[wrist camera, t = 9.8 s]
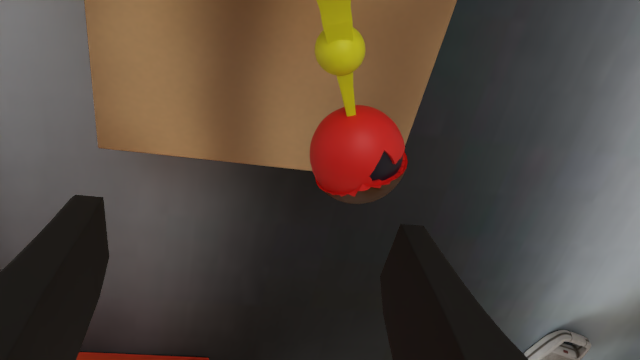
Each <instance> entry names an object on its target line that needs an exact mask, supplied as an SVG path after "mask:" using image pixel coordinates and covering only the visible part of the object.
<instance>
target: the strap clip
mask: <svg viewBox="0 0 640 360" xmlns="http://www.w3.org/2000/svg"><path fill="white" fill-rule="evenodd" d="M565 341H568V342H571V343H574V344H573V345H568V344H565V343H563V342H565ZM590 348H591V344H590V342H589V340H588V339H587V338H586V337H584V336H582V335H579V334H576V333H573V332H570V331H566V330H559V331H556V332H554V333H551V334H549V335H546V336H545V337H544V338H542V339H541V340H540V341H538V342H537V343H536V344H535V345H533V346H532V347H531V348H530V349H528V350H527V351H526V352H525V353H524V354H525V356H526V357H527V358H528V360H580V359H581V358H583V356H584V355H585V354H586V353H587V352H588V351H589V350H590Z"/></svg>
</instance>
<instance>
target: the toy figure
mask: <svg viewBox="0 0 640 360" xmlns="http://www.w3.org/2000/svg"><path fill="white" fill-rule="evenodd" d="M316 1H317V3H318V6H319V9H320V14H321V20H322V26H323V29H324V30H323V31H322V32H321V33H320V35H319V36H318V38H317V40H316V43H315V56H316V59H317V62H318V64H319V65H320V66H321V67H322V68H323V69H324V70H325V71H326V72H328V73H330V74H333V75H336V76H337V80H338V83H339V87H340V91H341V95H342V99H343V103H344V107H342V108H340V109H338V110H335V111H334V112H332V113H330V114H329V115H328V116H326V117H325V118H324V119H323V120H322V121H321V123H320V124H319V125H318V127H317V129H316V131H315V133H314V135H313V137H312V140H311V144H310V163H311V167H312V171H313V173H314V176H315V180H316V183H317V185H318V187H319V188H320V189H321V190H322V191H323V192H325V193H326V194H328V195H329V196H330V197H332V198H334V199H336V200H338V201H341V202H344V203H350V204H363V203H369V202H372V201H375V200H378V199H380V198H382V197H384V196H385V195H387V194H388V193H390V192H391V191H392V190H393V189H394V188H395V187H396V186H397V184H398V183H399V181H400V180H401V178H402V177H403V175H404V173H405V170H406V167H407V163H408V161H407V156H406V154H405V152H404V149H405V145H404V140H403V137H402V135H401V133H400V131H399V129H398V127H397V125H396V124H395V123H394V122H393V120H392V119H390V118H389V117H388V116H387V115H386V114H384V113H383V112H381V111H380V110H378V109H376V108H373V107H369V106H364V105H355V99H354V88H353V71H355V70H356V69H357V68H358V67H359V66H360V65H361V63H362V61H363V59H364V56H365V42H364V40H363V38H362V36H361V34H360V33H359V32H358V31H357V30H356V29H355V28H353V21H352V13H351V0H316Z"/></svg>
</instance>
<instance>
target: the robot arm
mask: <svg viewBox="0 0 640 360" xmlns="http://www.w3.org/2000/svg"><path fill="white" fill-rule="evenodd" d="M108 259H109V250H108V240H107V231H106V221H105V211H104V201H103V197H94V196H83V195H75V196H73V197H72V198H70V200H69V201H68V202H67V203H66V204H65V205H64V207H63V208H62V209H61V210H60V211H59V212H58V213H57V214H56V216H55V217H54V218H53V219H52V220H51V221H50V222H49V223H48V224H47V225H46V227H45V228H44V229H43V230H42V231H41V232H40V233H39V234H38V235H37V236H36V237H35V238H34V239H33V240H32V241H31V242H30V243H29V244H28V245H27V246H26V247H25V248H24V249H23V250H22V251H21V252H20V253H19V254H18V255H17V256H16V257H15V258H14V259H13V260H12V261H11V262H10V263H9V264H8V265H7V266H6V267H5V268H4V269H3V270H2V271H1V272H0V360H76V359H77V356H78V353H79V351H80V348H81V345H82V343H83V340H84V337H85V335H86V332H87V329H88V327H89V324H90V321H91V319H92V316H93V313H94V310H95V308H96V305H97V302H98V299H99V297H100V293H101V289H102V285H103V281H104V277H105V272H106V268H107V264H108ZM380 281H381V295H382V306H383V315H384V320H385V325H386V330H387V335H388V339H389V344H390V349H391V353H392V358H393V360H528V358H527V357H526V356H525V355H524V354H523V353H522V352H521V351H520V350H519V349H518V348H517V347H516V346H515V345H514V344H513V343H512V342H511V341H510V340H509V339H508V337H507V336H506V335H505V334H504V333H503V332H502V331H501V330H500V328H499V327H498V326H497V325H496V324H495V322H494V321H493V320H492V319H491V318H490V316H489V315H488V314H487V313H486V312H485V310H484V309H483V308H482V307H481V306H480V304H479V303H478V302H477V300H476V299H475V298H474V296H473V295H472V294H471V292H470V291H469V290H468V288H467V287H466V286H465V284H464V283H463V282H462V280H461V279H460V278H459V276H458V275H457V274H456V272H455V271H454V269H453V268H452V266H451V265H450V264H449V262H448V261H447V259H446V258H445V256H444V255H443V254H442V252H441V251H440V249H439V248H438V246H437V245H436V243H435V242H434V241H433V239H432V238H431V236H430V235H429V233H428V232H427V230H426V229H425V228H424V226H416V225H405V224H400V227H399V229H398V232H397V235H396V237H395V240H394V242H393V245H392V247H391V250H390V252H389V255H388V258H387V260H386V263H385V265H384V268H383V270H382V273H381V276H380Z"/></svg>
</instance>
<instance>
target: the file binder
mask: <svg viewBox="0 0 640 360" xmlns="http://www.w3.org/2000/svg"><path fill="white" fill-rule="evenodd" d="M76 360H209V358H205V357H182V356H160V355H137V354H115V353H92V352H79V353H78V356H77V359H76Z"/></svg>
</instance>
